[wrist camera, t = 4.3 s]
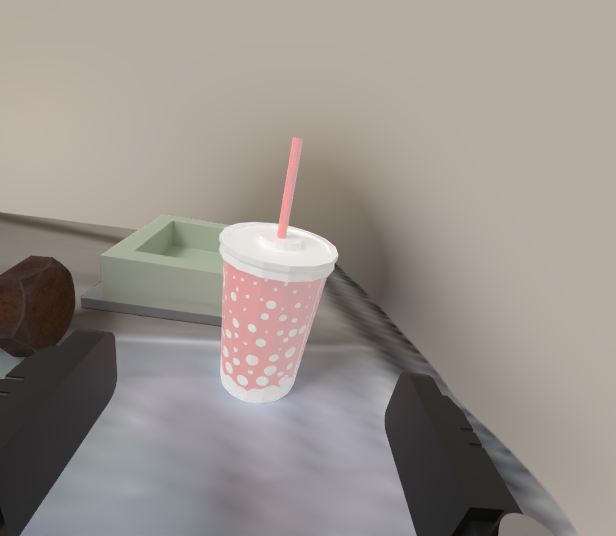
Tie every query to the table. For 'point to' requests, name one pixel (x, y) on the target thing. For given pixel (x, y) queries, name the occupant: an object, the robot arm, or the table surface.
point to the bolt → (35, 305)
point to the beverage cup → (269, 299)
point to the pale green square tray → (164, 272)
